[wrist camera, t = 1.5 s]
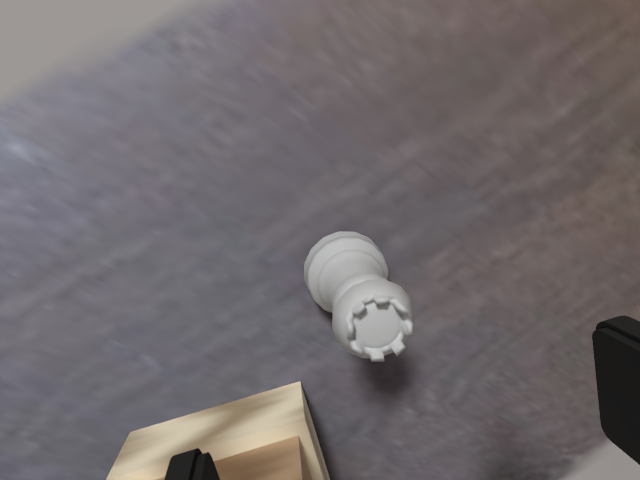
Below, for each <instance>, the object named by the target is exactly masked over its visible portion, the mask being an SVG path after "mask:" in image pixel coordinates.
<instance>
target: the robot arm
mask: <svg viewBox="0 0 640 480" xmlns="http://www.w3.org/2000/svg"><path fill="white" fill-rule="evenodd" d="M592 339H593V349H594V359H595V369H596V380H597V390H598V400H599V410H600V420H601V426H602V429H603V431H604V433H605V435H606V436H607V437H608V438H609V439H610V440H611V441H612V442H613V443H614V444H615V445H616V446H618V447H619V448H620V449H621V450H622V451H624V452H625V453H626V454H627V455H628V456H630V457H631V458H632V459H633V460H635V461H636V462H637V463H638V464H639V465H640V322H639V321H637V320H635V319H633V318H630V317H628V316H618V317H615V318H612V319H609V320H606V321H602V322H600V323H598V324H597V326H596V330H595V331H594V332H593V334H592ZM164 480H220V478H219V475H218V472H217V470H216V467H215V464H214V462H213V459H212V456H211V454H210V453H209V452H207V453H204V454H202V452H201V450H200V449H199V448H196V449H193V450H190V451H187V452H183V453H180V454H177V455H174V456H172V457H171V459H170V462H169V465H168V469H167V472H166V475H165V479H164Z"/></svg>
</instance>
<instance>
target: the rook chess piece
mask: <svg viewBox="0 0 640 480" xmlns="http://www.w3.org/2000/svg"><path fill="white" fill-rule="evenodd" d="M387 278H388V267H387V264H386V261H385V259H384V256H383V254H382V253H381V251H380V249H379V248H378V247H377V246H376V245H375V244H374V243H373V242H372V240H371V239H370V238H368V237H366V236H363V235H361V234H359V233H356V232H336V233H334V234H331V235H328V236H326V237H323V238H322V239H321V240H320V241H319V242H318V243H317V244H316V245H315V246H314V247H313V248H312V249H311V250H310V253H309V255H308V257H307V259H306V261H305V263H304V281H305V283H306V286H307V288H308V291H309V293H310V294H311V296H312V299H313V300H314V301H315V302H316V303H317V304H318V305H320V306H321V307H322V308H323V309H324V310H326V311H328V312H331V313H333V319H332V329H333V332H334V334H335V337H336V339H337V342H338V343H339V344H340V345H341V346H342V347H343V348H344V349H345V350H346V351H347V352H348V353H350V354H353V355H356V356H358V357H361V358H370V360H371V362H385V361H384V356H385V355H388V354H390V353H393V352H394V353H395V354H396V356H398V355H399V354H400V353H402V352H403V351H404V350H405V349H406V348H407V347H406V346H405V344H404V343H405V342H406V341H407V339H408V337H409V336H413V329H414V317H415V310H414V307H413V304H412V301H411V298H410V296H409V295H408V294H407V293H406V292H405V291H404V290H403V289H402V288H401V287H400V286H399V285H397V284H394V283H392V282H389V281H387Z"/></svg>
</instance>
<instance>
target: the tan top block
mask: <svg viewBox="0 0 640 480" xmlns="http://www.w3.org/2000/svg"><path fill="white" fill-rule="evenodd" d="M214 464H215V467H216V470H217V472H218V475H219V478H220V480H312V477H311V474H310V471H309V468H308V465H307V461H306V458H305V455H304V452H303V449H302V446H301V443H300V439H299V436H294V437H291V438H288V439H285V440H281V441H278V442H275V443H272V444H268V445H265V446H262V447H259V448H256V449H252V450H249V451H246V452H243V453H239V454H236V455H233V456H230V457H226V458H223V459H220V460H217V461H214ZM164 479H165V477H162V478H159V479H155V480H164Z"/></svg>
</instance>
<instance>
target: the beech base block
mask: <svg viewBox="0 0 640 480" xmlns="http://www.w3.org/2000/svg"><path fill="white" fill-rule="evenodd" d="M294 436H299V439H300V443H301V446H302V449H303V452H304V455H305V458H306V461H307V465H308V468H309V471H310V474H311V477H312V480H330V477H329V474H328V471H327V467H326V464H325V461H324V457H323V454H322V451H321V448H320V444H319V441H318V438H317V434H316V431H315V428H314V425H313V421H312V418H311V415H310V411H309V408H308V405H307V402H306V398H305V395H304V392H303V389H302V385H301V382H300V381H299V382H296V383H293V384H289V385H286V386H283V387H279V388H276V389H273V390H269V391H266V392H263V393H259V394H256V395H253V396H249V397H246V398H243V399H239V400H236V401H233V402H229V403H226V404H223V405H219V406H216V407H213V408H209V409H206V410H203V411H199V412H196V413H193V414H189V415H186V416H183V417H179V418H176V419H173V420H169V421H166V422H163V423H159V424H156V425H153V426H149V427H146V428H143V429H139V430H136V431H133V432H130V433H129V435H128V437H127V439H126V441H125V443H124V445H123V447H122V449H121V451H120V453H119V455H118V457H117V459H116V461H115V463H114V465H113V467H112V469H111V471H110V473H109V475H108V477H107V479H106V480H155V479H159V478H162V477H165V475H166V472H167V469H168V465H169V462H170V459H171V457H172V456H174V455H177V454H180V453H183V452H187V451H190V450H193V449H196V448H199V449H200V450H201V452H202V454H204V453H207V452H209V453H210V454H211V456H212V459H213V462H214V461H217V460H220V459H223V458H226V457H230V456H233V455H236V454H239V453H243V452H246V451H249V450H252V449H256V448H259V447H262V446H265V445H268V444H272V443H275V442H278V441H281V440H285V439H288V438H291V437H294Z"/></svg>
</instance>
